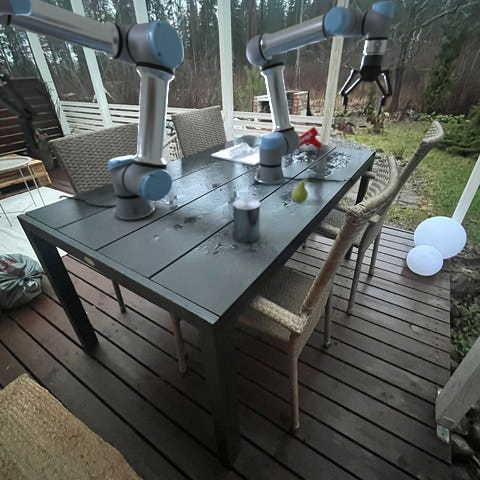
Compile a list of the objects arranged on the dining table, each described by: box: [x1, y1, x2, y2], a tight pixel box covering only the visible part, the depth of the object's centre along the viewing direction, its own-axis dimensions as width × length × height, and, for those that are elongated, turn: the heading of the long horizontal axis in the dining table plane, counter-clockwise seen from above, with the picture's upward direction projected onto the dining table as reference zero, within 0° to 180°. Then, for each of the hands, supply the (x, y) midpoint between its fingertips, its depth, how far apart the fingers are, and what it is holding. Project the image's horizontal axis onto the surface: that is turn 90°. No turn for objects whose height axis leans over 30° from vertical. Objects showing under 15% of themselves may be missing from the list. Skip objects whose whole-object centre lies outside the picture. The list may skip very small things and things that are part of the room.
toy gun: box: [299, 126, 323, 149], centre depth 197 cm, size 18×4×15 cm
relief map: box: [210, 141, 260, 166], centre depth 182 cm, size 27×35×5 cm
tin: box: [232, 197, 261, 244], centre depth 94 cm, size 9×9×13 cm
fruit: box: [291, 174, 311, 204], centre depth 118 cm, size 7×8×12 cm
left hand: (7, 155), depth 65 cm, fingers open, 13 cm apart
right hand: (360, 114), depth 116 cm, fingers open, 13 cm apart
